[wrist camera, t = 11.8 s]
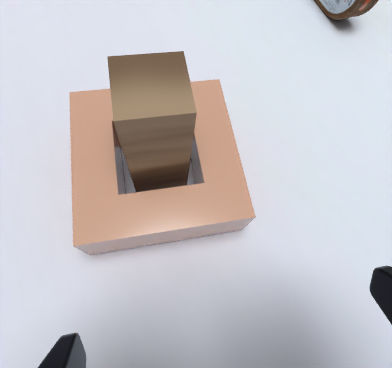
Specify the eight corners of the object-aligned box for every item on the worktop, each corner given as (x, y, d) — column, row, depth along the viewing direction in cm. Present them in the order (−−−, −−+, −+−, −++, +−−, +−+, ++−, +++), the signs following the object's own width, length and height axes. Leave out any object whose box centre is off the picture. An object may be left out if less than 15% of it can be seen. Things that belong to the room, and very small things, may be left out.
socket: (241, 229, 23) (255, 217, 19) (90, 255, 21) (73, 246, 18) (212, 109, 27) (219, 79, 24) (84, 121, 26) (69, 92, 22)
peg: (185, 191, 24) (196, 112, 14) (138, 197, 23) (113, 121, 13) (178, 149, 25) (183, 51, 15) (133, 155, 25) (107, 56, 15)
